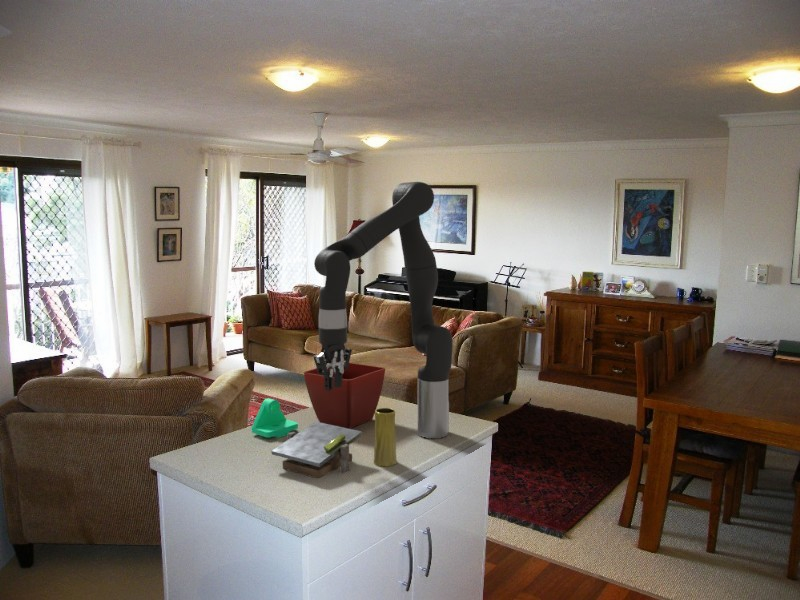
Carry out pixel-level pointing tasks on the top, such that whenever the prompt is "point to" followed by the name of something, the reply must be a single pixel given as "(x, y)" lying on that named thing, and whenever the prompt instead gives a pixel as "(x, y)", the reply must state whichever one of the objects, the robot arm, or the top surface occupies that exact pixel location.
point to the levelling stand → (317, 472)
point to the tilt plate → (316, 443)
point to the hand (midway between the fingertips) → (333, 388)
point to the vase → (385, 437)
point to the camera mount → (272, 420)
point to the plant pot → (346, 395)
